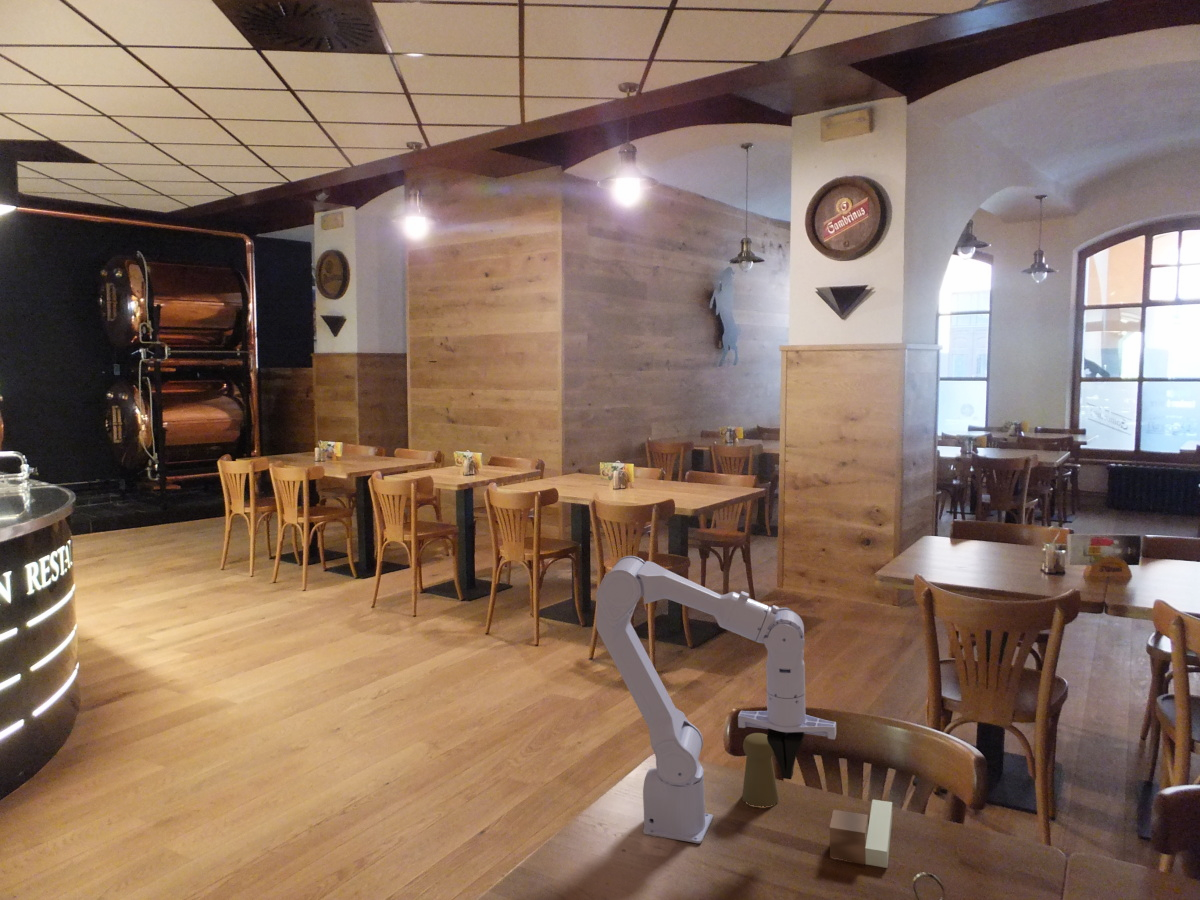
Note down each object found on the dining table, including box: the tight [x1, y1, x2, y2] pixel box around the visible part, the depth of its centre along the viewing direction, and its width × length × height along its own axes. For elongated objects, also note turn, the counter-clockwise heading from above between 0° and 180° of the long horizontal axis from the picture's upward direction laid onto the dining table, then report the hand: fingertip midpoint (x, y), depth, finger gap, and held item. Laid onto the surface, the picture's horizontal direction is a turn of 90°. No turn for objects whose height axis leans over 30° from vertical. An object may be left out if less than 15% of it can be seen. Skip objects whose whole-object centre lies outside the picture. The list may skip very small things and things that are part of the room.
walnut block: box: [829, 809, 869, 866], centre depth 126 cm, size 5×5×5 cm
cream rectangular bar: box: [865, 799, 893, 869], centre depth 129 cm, size 3×14×2 cm, turn 158°
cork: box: [741, 732, 779, 807], centre depth 141 cm, size 6×6×11 cm
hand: (787, 775), depth 130 cm, fingers closed
